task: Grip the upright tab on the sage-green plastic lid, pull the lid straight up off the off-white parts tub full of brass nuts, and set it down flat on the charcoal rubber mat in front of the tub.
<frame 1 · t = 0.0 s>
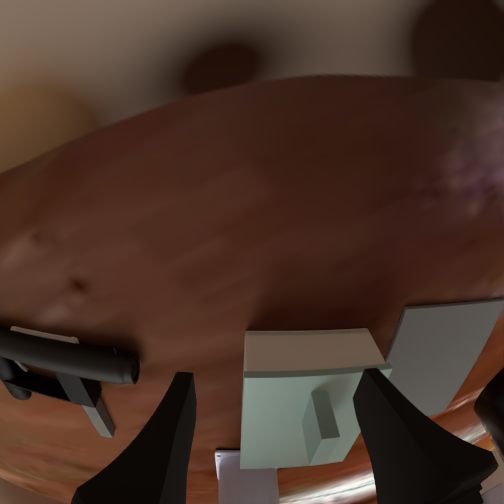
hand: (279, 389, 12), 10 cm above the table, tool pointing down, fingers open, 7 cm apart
black toy gun: (65, 377, 26), on the table
tub: (297, 387, 26), on the table
jar: (501, 384, 32), on the table
lid: (302, 417, 23), point 3 cm above the table, touching tub
mat: (430, 371, 27), on the table
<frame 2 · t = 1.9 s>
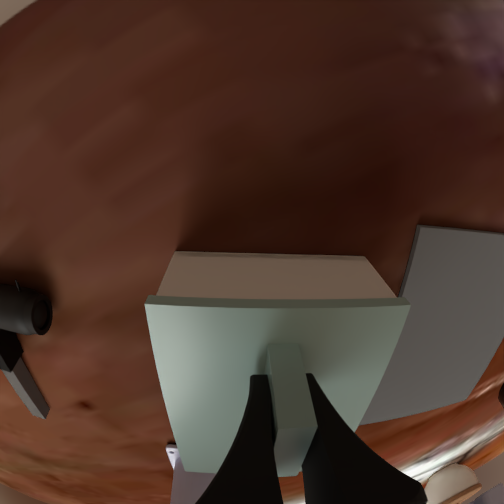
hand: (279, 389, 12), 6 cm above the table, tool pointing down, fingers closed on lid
lidded jar: (442, 471, 35), on the table
tub: (263, 355, 19), on the table
lid: (268, 398, 15), point 3 cm above the table, touching gripper, tub
mat: (453, 339, 19), on the table
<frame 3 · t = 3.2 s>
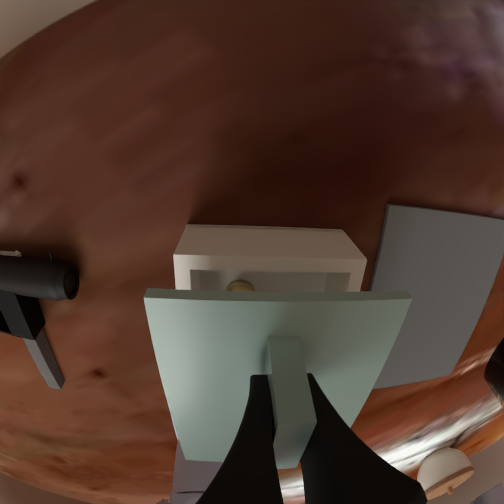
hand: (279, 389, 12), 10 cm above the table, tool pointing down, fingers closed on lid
black toy gun: (13, 311, 22), on the table
lidded jar: (435, 455, 39), on the table
tub: (260, 317, 22), on the table
lid: (268, 387, 16), point 7 cm above the table, touching gripper
mat: (430, 311, 23), on the table
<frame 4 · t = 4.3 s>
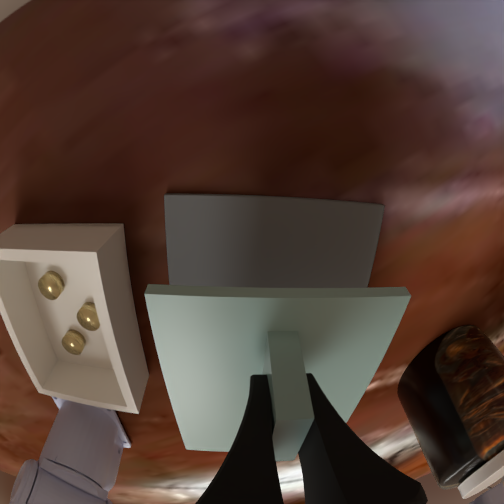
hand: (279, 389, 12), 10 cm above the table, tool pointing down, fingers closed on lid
nuts: (75, 317, 21), in the tub, point 1 cm above the table
tub: (79, 306, 21), on the table
jar: (441, 366, 27), on the table
lid: (267, 379, 16), point 7 cm above the table, tilted 6°, touching gripper
mat: (268, 317, 22), on the table
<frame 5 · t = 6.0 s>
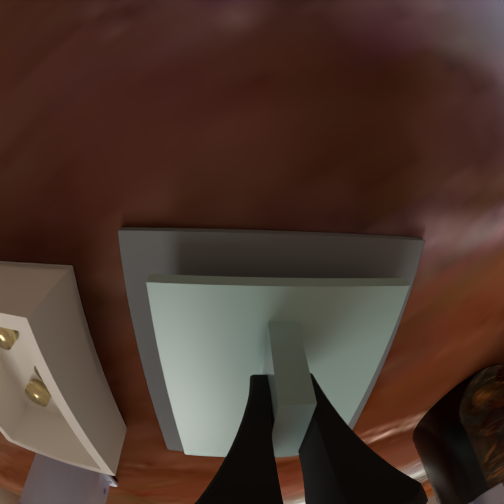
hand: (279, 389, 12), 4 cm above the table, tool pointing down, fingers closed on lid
nuts: (34, 368, 15), in the tub, point 1 cm above the table
tub: (39, 355, 16), on the table
jar: (462, 406, 21), on the table
lid: (268, 379, 16), point 1 cm above the table, touching gripper, mat
mat: (266, 378, 17), on the table
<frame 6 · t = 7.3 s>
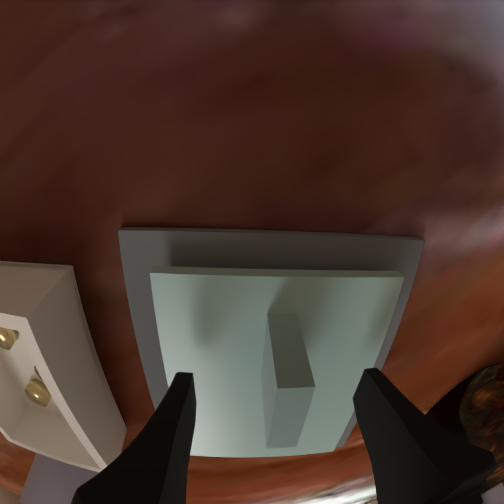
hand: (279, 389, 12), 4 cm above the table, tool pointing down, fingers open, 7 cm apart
nuts: (34, 368, 15), in the tub, point 1 cm above the table
lidded jar: (373, 503, 33), on the table
tub: (39, 355, 16), on the table
jar: (462, 406, 21), on the table
lid: (267, 375, 16), resting on mat
mat: (266, 378, 17), on the table
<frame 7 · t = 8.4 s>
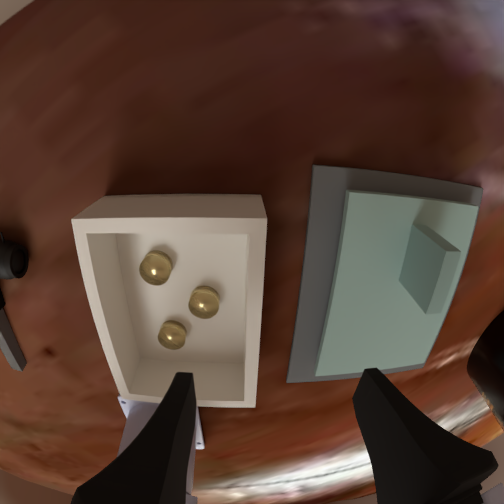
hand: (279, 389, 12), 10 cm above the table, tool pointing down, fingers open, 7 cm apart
nuts: (182, 304, 20), in the tub, point 1 cm above the table
tub: (184, 292, 21), on the table
jar: (501, 339, 26), on the table
lid: (391, 287, 21), resting on mat
mat: (387, 292, 22), on the table
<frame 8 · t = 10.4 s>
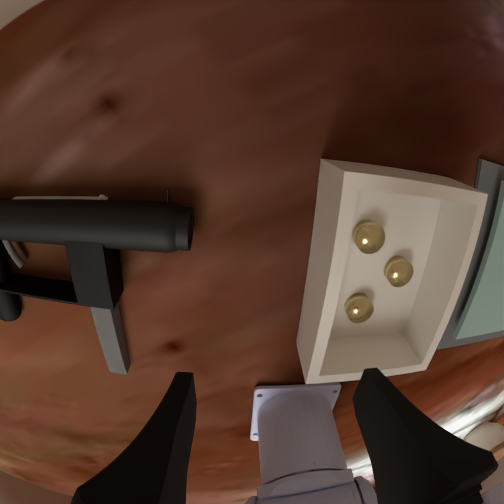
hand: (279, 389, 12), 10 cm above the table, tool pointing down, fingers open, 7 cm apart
nuts: (379, 274, 20), in the tub, point 1 cm above the table
black toy gun: (72, 278, 21), on the table
lidded jar: (476, 430, 38), on the table
tub: (374, 264, 21), on the table
mat: (502, 265, 22), on the table
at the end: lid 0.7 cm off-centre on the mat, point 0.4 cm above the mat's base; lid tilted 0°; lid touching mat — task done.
